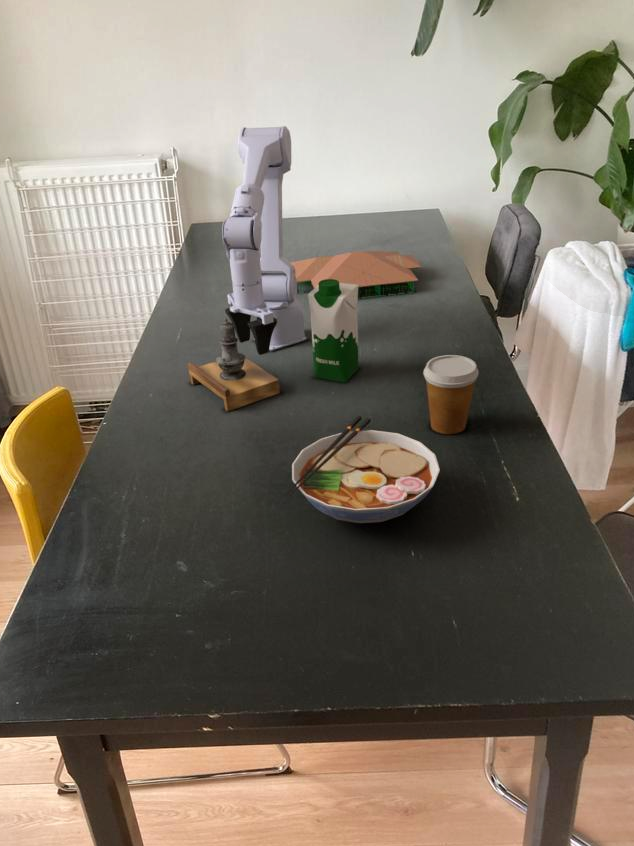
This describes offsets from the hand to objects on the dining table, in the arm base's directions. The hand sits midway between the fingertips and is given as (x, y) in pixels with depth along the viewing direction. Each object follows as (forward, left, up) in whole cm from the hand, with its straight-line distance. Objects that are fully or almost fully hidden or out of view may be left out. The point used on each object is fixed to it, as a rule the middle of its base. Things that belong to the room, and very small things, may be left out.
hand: (253, 347), depth 163 cm
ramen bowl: (+9, +50, -8) cm, 52 cm away
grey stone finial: (+6, 0, -5) cm, 7 cm away
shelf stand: (+5, 0, -7) cm, 9 cm away
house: (-49, -32, -8) cm, 59 cm away
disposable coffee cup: (-18, +39, -8) cm, 43 cm away
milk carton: (-15, +8, -8) cm, 18 cm away
